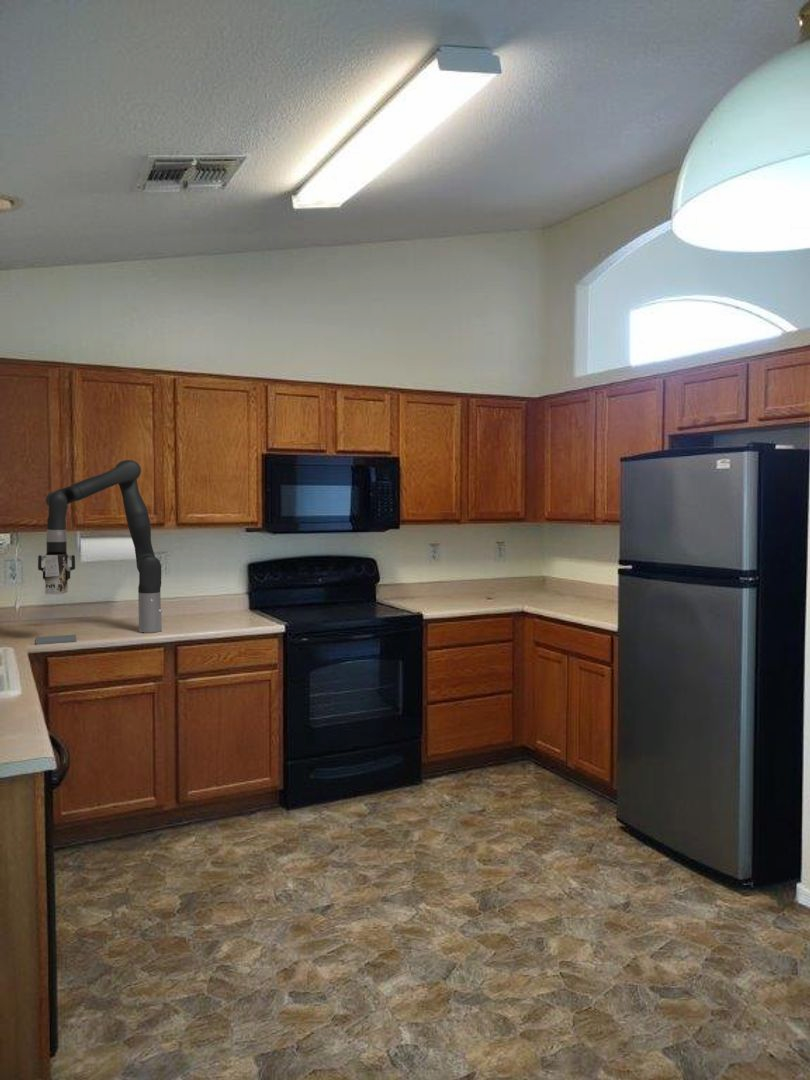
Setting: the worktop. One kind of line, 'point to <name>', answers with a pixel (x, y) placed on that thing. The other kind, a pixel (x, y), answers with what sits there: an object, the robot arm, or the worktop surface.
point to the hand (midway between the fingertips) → (56, 580)
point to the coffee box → (55, 574)
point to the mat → (55, 639)
